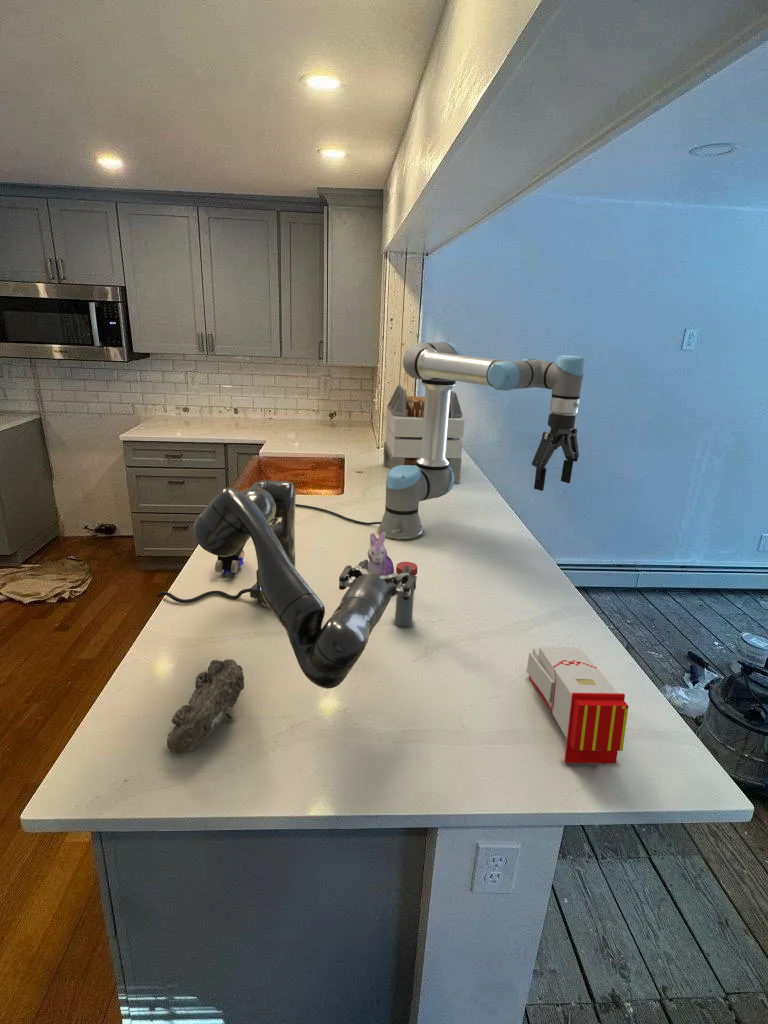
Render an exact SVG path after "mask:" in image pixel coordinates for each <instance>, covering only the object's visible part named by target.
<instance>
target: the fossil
mask: <svg viewBox="0 0 768 1024" xmlns="http://www.w3.org/2000/svg"><path fill="white" fill-rule="evenodd" d="M243 670H244V669H243V667H242V665H240V664H237V662H236V661H235V660H234V659H232V658H231V659H227V658H226V659H224V660H223V661H222V660H217V659H212V660H211V661H210V663H209V665H208V666H207V671H201V672H199V673H198V674H197V675H196V676H195V680H194V684H195V685H194V687H195V689H194V690H193V693H192V694H191V697H190V698H189V700H188V704H184V705H182V706H181V707H180V709H177V710H176V711H175V713H174V715H173V716H172V718H171V723H172V724H173V727H172V730H171V731H170V732H168V734H167V738H166V741H167V742H166V745H167V749H168V750H169V751H173V752H174V753H176V754H178V753H182V752H188V751H189V752H192V751H193V750H195V748H196V747H197V746H199V744H200V743H201V742H203V741H204V740H205V739H206V738H207V737H208V736H209V735H210V734H211V733H212V732H214V730H215V729H217V727H218V726H219V724H220V722H221V721H222V720H223V719H224V718H225V716H226V717H227V719H229V720H233V717H232V715H230V714H229V710H230V709H231V708H234V706H235V704H236V703H237V702H238V699H239V697H240V695H241V693H242V691H243V690H245V689H244V688H245V675H244V671H243Z"/></svg>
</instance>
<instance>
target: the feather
mask: <svg viewBox="0 0 768 1024" xmlns="http://www.w3.org/2000/svg"><path fill="white" fill-rule="evenodd" d="M277 520H278V518H275V517H274V518H273V520H272V521H271V525H273V524H275V523H276V521H277Z"/></svg>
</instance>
